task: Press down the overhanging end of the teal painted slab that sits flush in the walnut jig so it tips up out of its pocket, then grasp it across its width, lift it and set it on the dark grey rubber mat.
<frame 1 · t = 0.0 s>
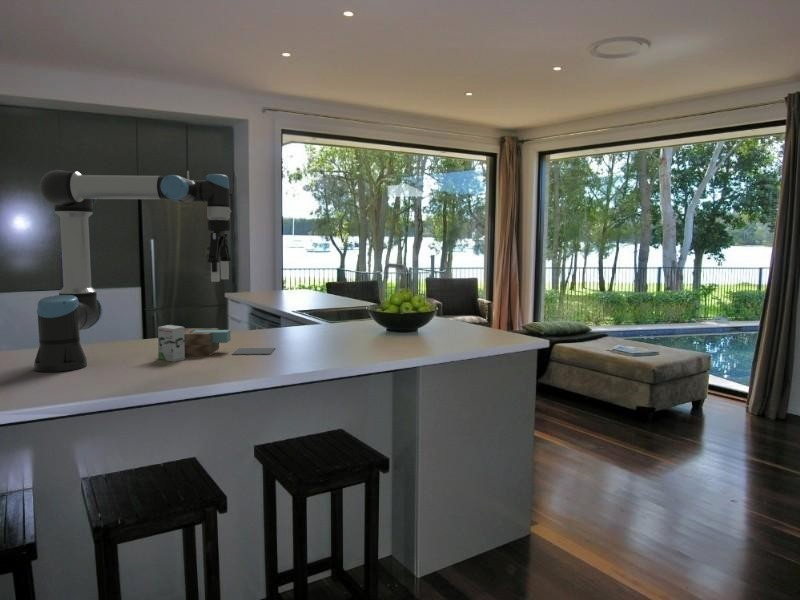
hand: (220, 280, 211), 28 cm above the table, fingers open, 13 cm apart
slab: (211, 341, 227), point 4 cm above the table, touching jig
mat: (254, 351, 228), on the table
ink box: (171, 359, 213), on the table
jig: (192, 352, 227), on the table
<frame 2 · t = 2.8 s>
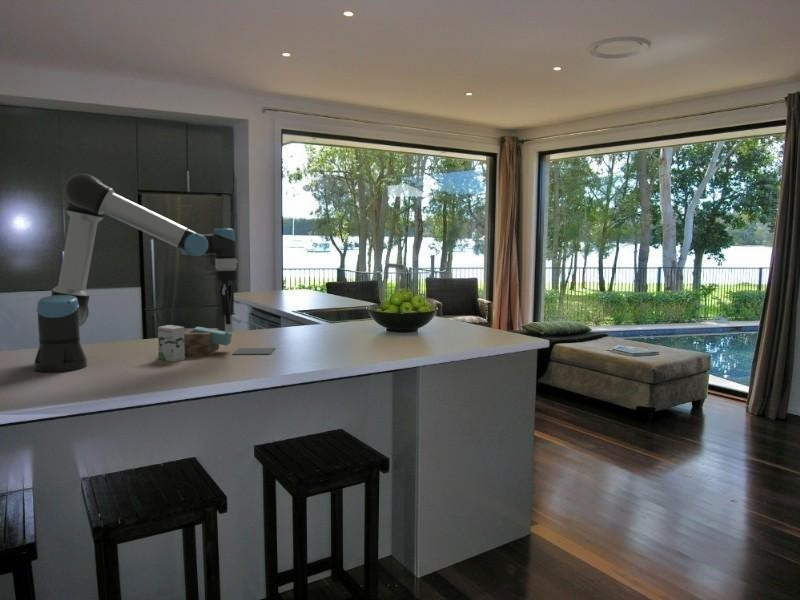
hand: (229, 332, 227), 8 cm above the table, fingers closed
slab: (211, 341, 227), point 4 cm above the table, tilted 11°, touching gripper, jig
everything else where it was.
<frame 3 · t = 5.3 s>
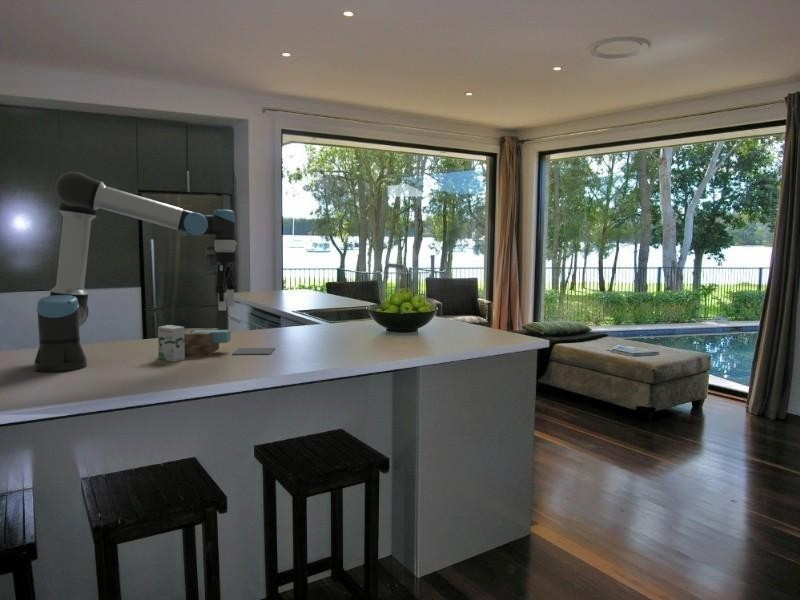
hand: (226, 308, 226), 17 cm above the table, fingers open, 13 cm apart
slab: (211, 341, 227), point 4 cm above the table, touching jig
everything else where it was.
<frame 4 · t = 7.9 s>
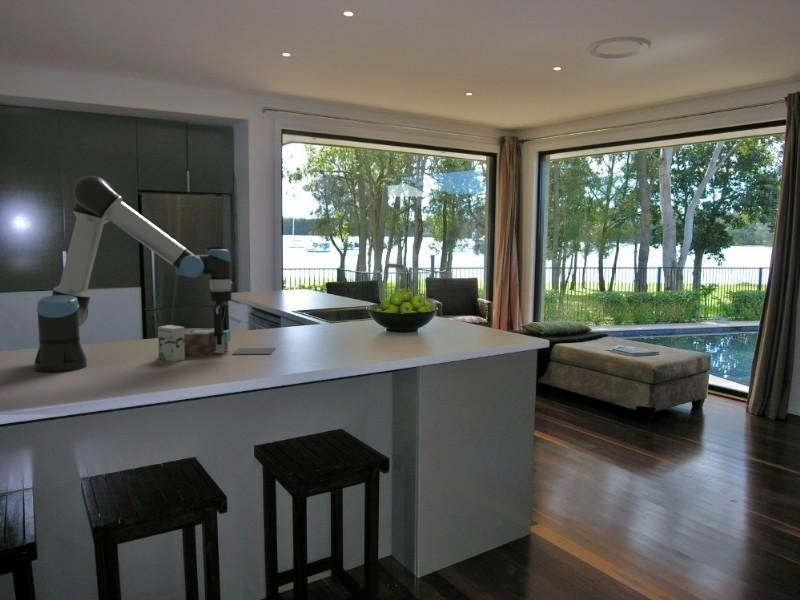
hand: (222, 351, 227), 0 cm above the table, fingers closed on slab, 6 cm apart
slab: (211, 341, 227), point 4 cm above the table, touching gripper, jig
everything else where it was.
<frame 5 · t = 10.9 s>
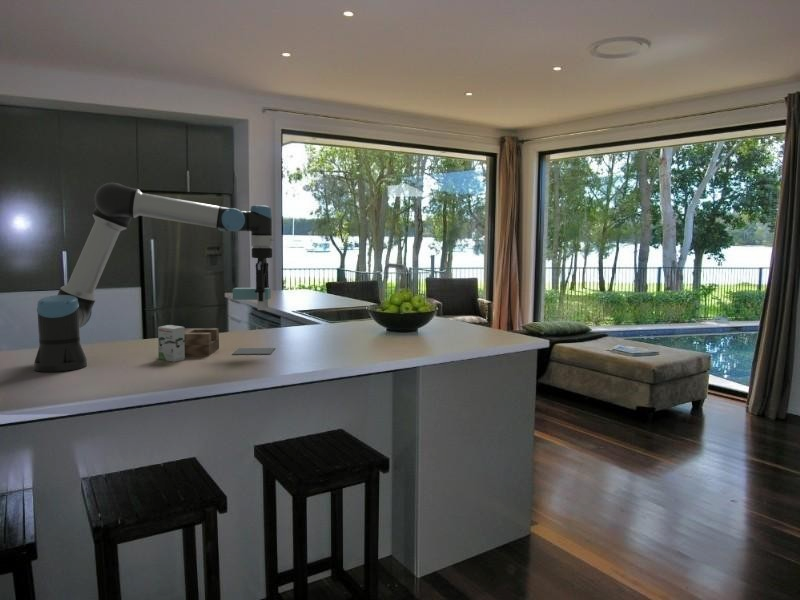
hand: (262, 308, 227), 16 cm above the table, fingers closed on slab, 6 cm apart
slab: (252, 298, 226), point 20 cm above the table, touching gripper
everything else where it was.
when the fingers open (1 cm above the table, at t = 13.9 s): slab drops 5 cm, resting on mat.
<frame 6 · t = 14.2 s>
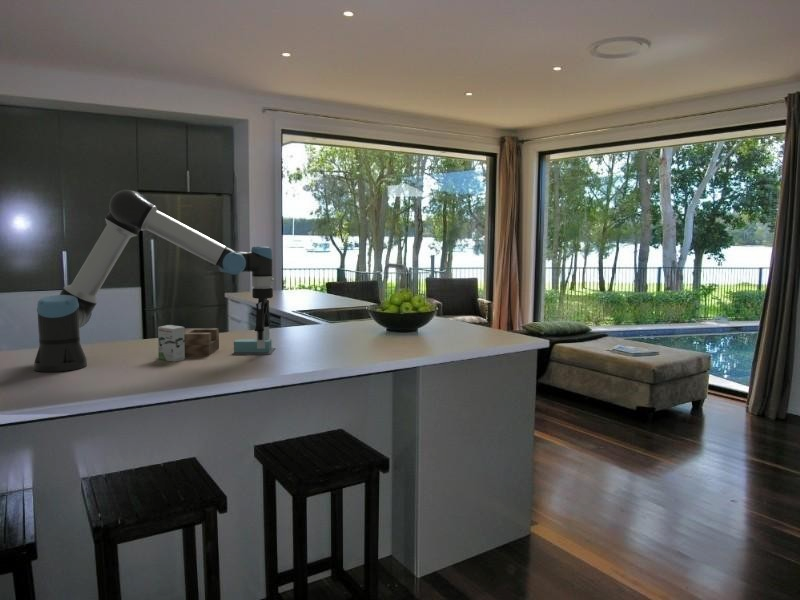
hand: (263, 345, 228), 2 cm above the table, fingers open, 10 cm apart
slab: (253, 350, 228), resting on mat
everything else where it was.
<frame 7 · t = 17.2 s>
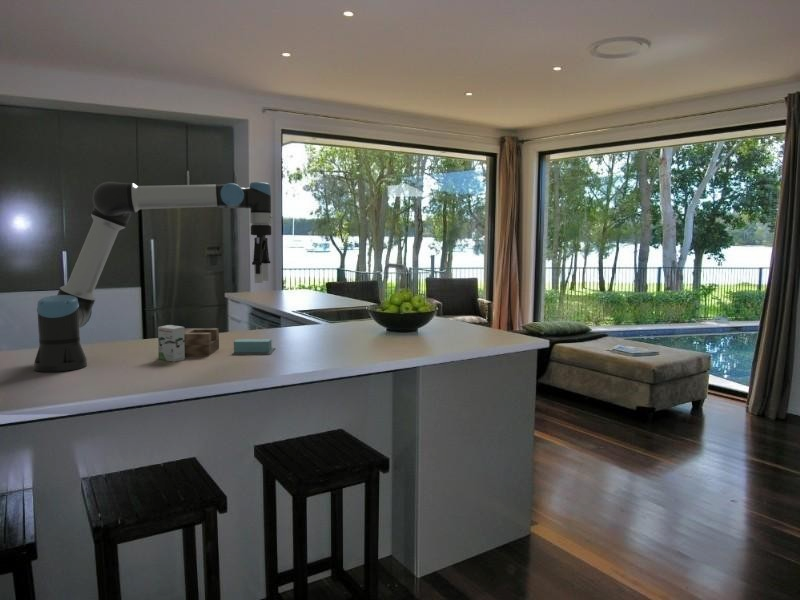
hand: (261, 281, 226), 27 cm above the table, fingers open, 13 cm apart
nothing on the table moved.
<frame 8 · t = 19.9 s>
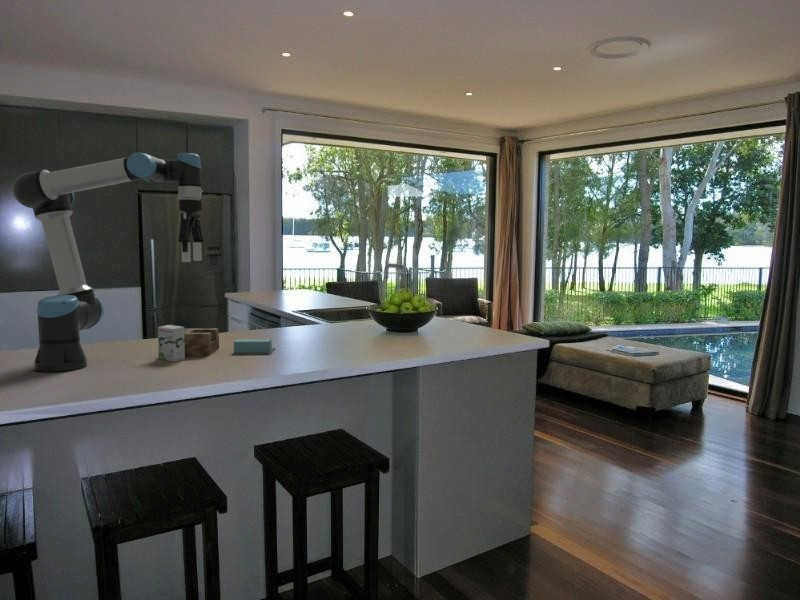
hand: (192, 261, 209), 35 cm above the table, fingers open, 13 cm apart
nothing on the table moved.
at the end: slab inside the target area on the mat (0.5 cm from its centre), point 0.4 cm above the mat's base; slab touching mat; the gripper is holding nothing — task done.
